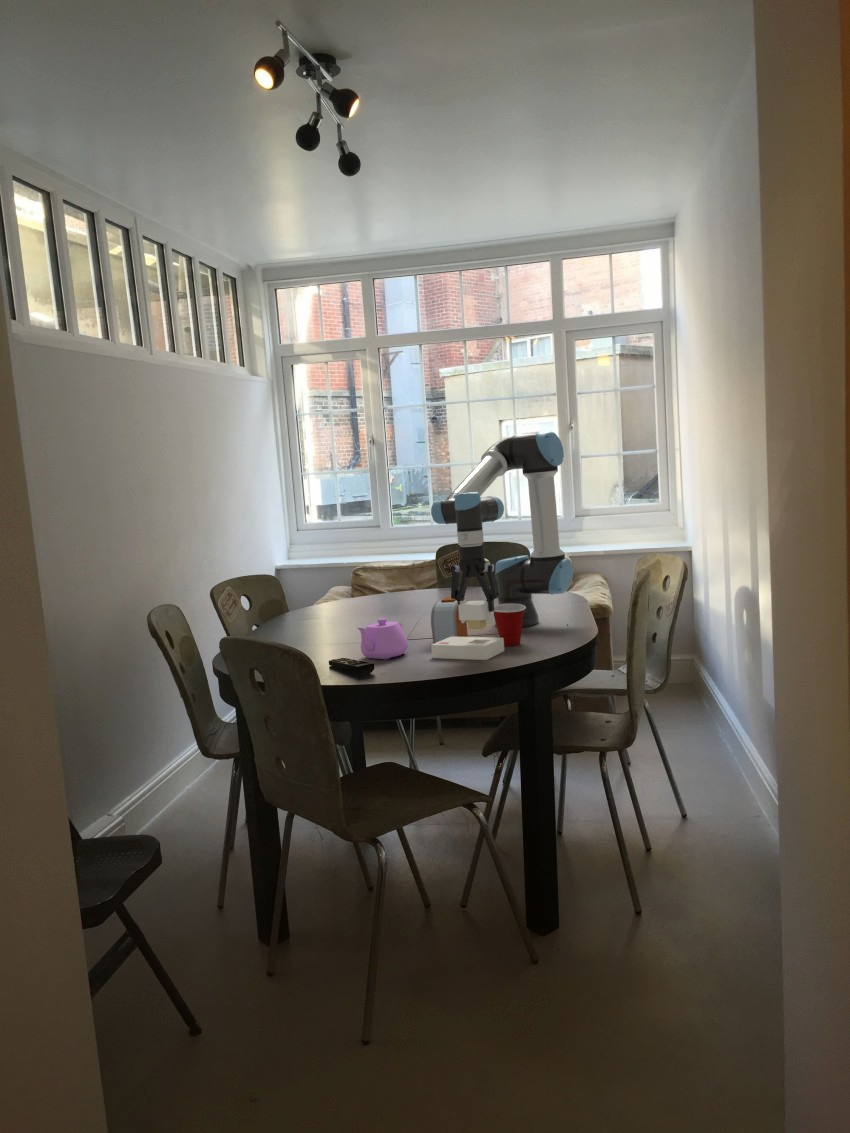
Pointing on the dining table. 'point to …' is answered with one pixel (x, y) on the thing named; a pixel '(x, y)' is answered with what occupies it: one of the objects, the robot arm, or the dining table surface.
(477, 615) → the plug
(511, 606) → the plastic cup
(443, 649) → the socket
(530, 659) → the dining table surface
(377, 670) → the dining table surface
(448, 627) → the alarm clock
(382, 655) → the teapot
